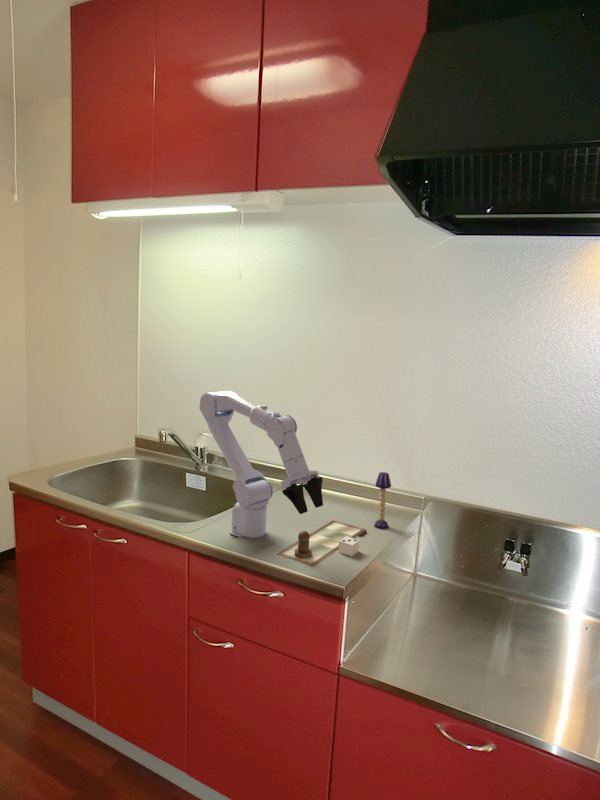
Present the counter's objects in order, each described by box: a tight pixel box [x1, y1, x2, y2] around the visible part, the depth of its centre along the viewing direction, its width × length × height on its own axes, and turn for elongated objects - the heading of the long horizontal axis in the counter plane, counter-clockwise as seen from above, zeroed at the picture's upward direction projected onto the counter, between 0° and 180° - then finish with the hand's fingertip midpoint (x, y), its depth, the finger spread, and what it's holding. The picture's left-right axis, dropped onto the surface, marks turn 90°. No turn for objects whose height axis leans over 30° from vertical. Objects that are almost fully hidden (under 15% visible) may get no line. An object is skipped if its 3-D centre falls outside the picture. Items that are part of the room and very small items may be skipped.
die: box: [337, 536, 360, 557], centre depth 138 cm, size 4×4×4 cm
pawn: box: [295, 530, 312, 559], centre depth 135 cm, size 4×4×6 cm
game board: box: [276, 519, 367, 568], centre depth 144 cm, size 11×30×1 cm, turn 147°
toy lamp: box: [373, 471, 392, 530], centre depth 158 cm, size 5×5×17 cm
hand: (311, 509), depth 133 cm, fingers open, 7 cm apart
